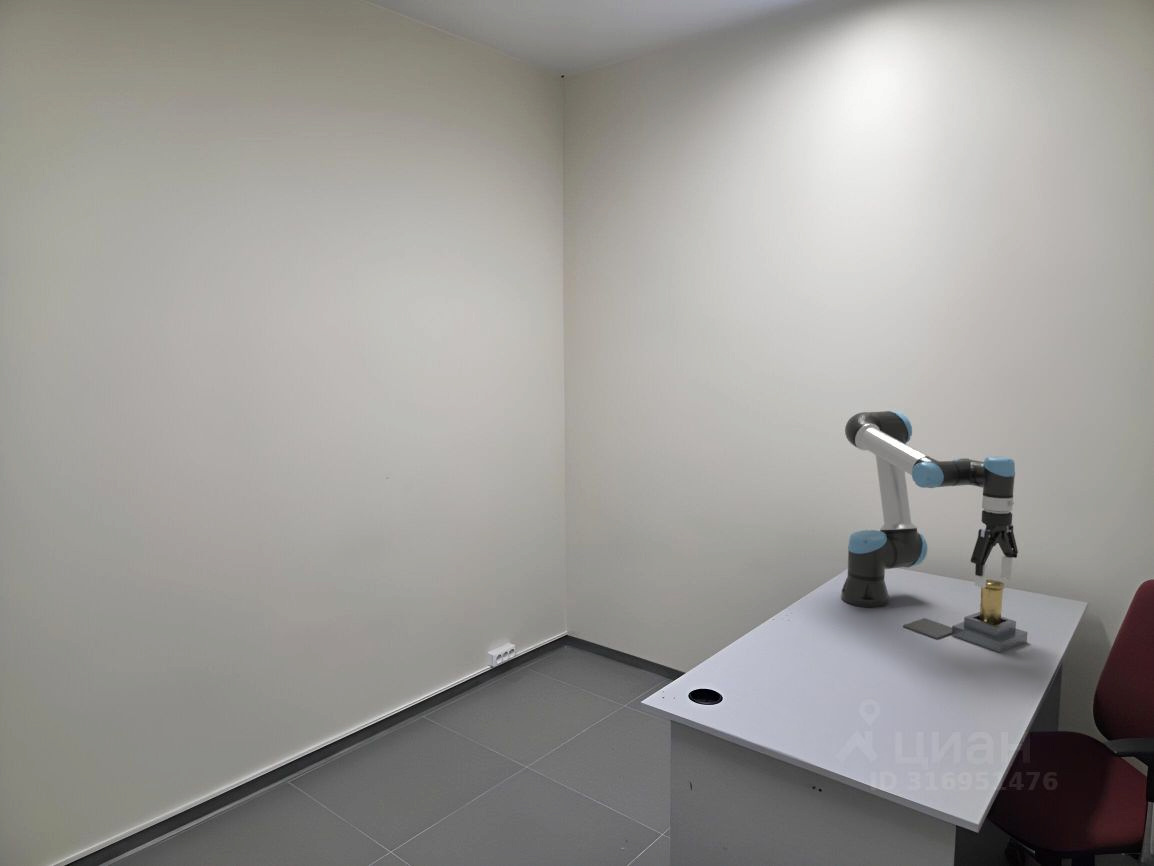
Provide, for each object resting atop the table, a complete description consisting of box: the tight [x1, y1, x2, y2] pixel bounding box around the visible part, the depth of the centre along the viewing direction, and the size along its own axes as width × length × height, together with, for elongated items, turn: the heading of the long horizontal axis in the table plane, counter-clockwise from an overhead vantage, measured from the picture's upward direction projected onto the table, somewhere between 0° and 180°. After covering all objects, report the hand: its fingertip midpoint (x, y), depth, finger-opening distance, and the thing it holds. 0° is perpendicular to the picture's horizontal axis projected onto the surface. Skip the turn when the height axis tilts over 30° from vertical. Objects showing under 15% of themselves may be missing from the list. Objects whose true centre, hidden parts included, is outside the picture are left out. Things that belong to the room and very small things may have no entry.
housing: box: [951, 611, 1028, 654], centre depth 203 cm, size 14×14×6 cm
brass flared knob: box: [979, 579, 1005, 625], centre depth 202 cm, size 6×6×14 cm
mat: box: [902, 617, 952, 640], centre depth 210 cm, size 11×11×1 cm
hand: (993, 582), depth 201 cm, fingers open, 13 cm apart
